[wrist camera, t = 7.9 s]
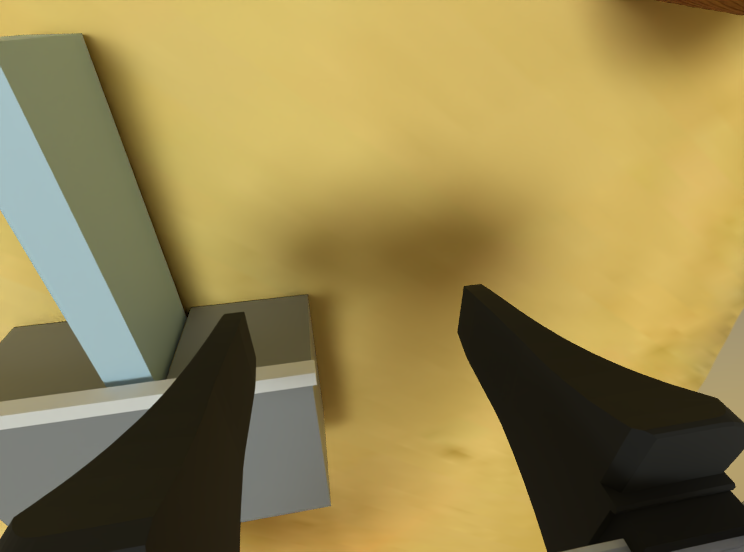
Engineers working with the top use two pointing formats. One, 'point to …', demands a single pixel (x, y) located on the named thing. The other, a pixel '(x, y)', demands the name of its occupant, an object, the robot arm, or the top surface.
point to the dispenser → (130, 402)
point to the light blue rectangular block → (83, 209)
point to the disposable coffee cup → (714, 5)
